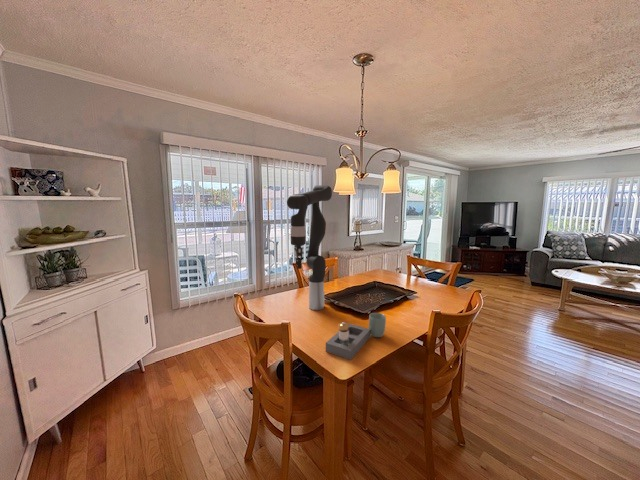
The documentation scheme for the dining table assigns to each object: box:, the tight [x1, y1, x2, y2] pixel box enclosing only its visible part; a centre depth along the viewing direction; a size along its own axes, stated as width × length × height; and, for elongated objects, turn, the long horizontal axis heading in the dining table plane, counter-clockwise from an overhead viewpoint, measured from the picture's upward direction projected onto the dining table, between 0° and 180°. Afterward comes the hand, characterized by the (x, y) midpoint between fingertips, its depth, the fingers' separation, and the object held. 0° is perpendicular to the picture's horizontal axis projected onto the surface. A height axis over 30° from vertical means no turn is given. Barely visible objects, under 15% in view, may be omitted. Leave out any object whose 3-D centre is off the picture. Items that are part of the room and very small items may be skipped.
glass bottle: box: [338, 321, 350, 346], centre depth 113 cm, size 4×4×11 cm
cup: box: [368, 312, 387, 338], centre depth 125 cm, size 8×8×10 cm
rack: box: [325, 322, 371, 361], centre depth 118 cm, size 12×22×4 cm, turn 148°
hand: (298, 266), depth 131 cm, fingers open, 8 cm apart
